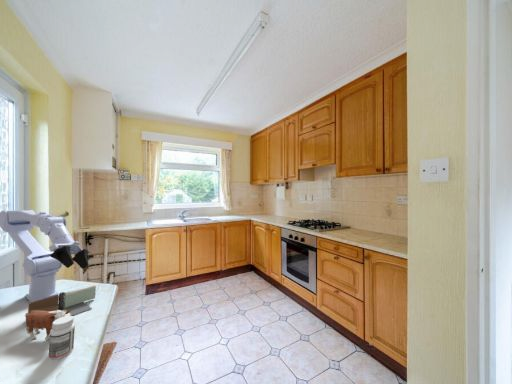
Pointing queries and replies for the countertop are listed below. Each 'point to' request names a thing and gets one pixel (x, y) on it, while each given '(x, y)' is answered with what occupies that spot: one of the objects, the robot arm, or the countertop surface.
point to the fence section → (48, 303)
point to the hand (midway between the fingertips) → (78, 266)
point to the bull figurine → (42, 321)
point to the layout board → (76, 309)
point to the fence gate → (79, 295)
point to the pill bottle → (61, 337)
